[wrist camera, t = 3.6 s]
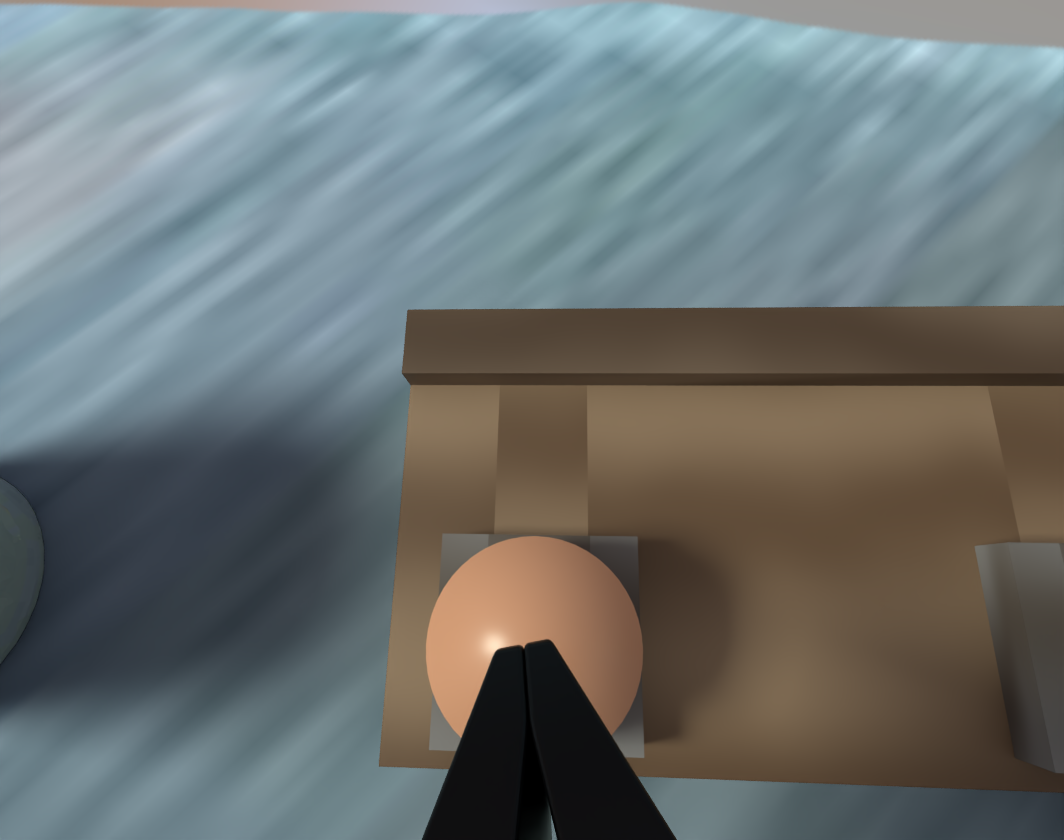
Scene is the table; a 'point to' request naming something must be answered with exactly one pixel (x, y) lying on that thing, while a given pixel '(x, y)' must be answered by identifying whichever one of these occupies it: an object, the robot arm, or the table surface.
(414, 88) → the table surface
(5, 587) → the grey green plant pot
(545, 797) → the robot arm
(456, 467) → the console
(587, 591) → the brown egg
